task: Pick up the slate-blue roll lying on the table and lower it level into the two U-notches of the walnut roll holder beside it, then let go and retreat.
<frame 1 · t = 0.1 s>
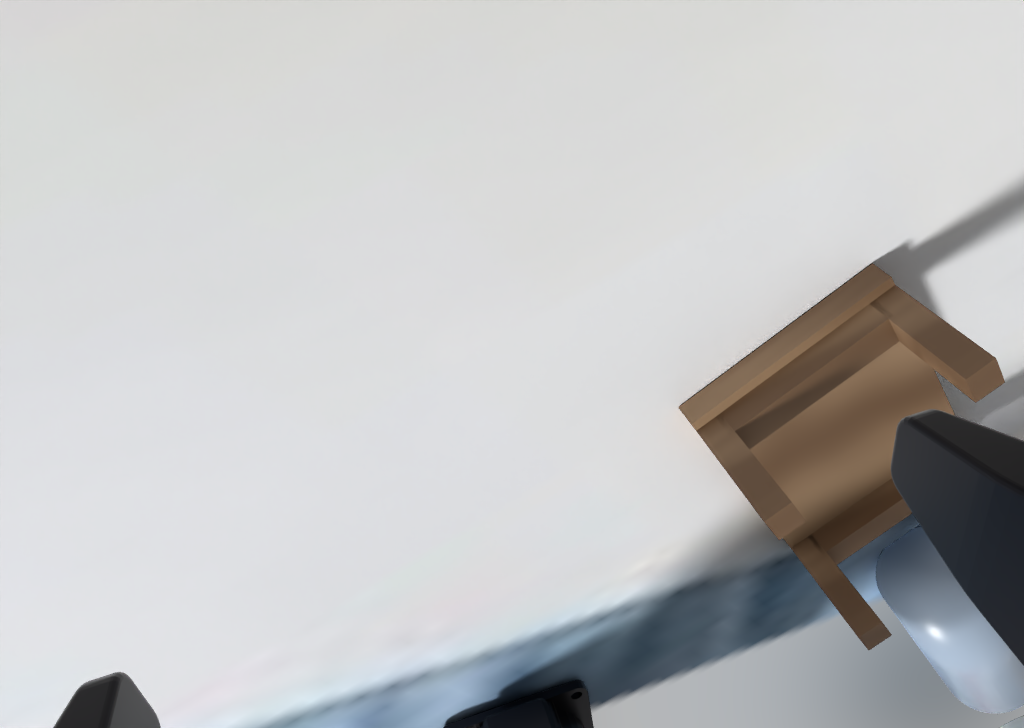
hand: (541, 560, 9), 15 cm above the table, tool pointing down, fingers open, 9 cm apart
roll: (930, 588, 41), on the table
roll holder: (827, 422, 32), on the table
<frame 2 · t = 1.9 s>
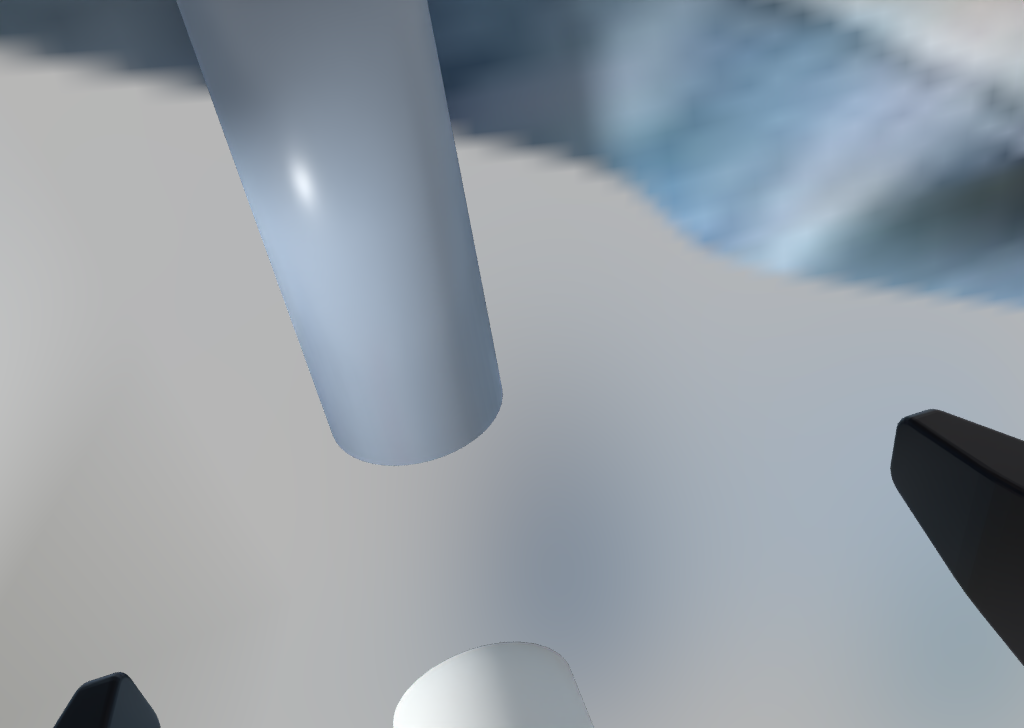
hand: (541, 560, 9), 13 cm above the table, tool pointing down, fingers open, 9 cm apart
roll: (377, 166, 20), on the table, tilted 17°
cylindrical container: (483, 700, 33), on the table
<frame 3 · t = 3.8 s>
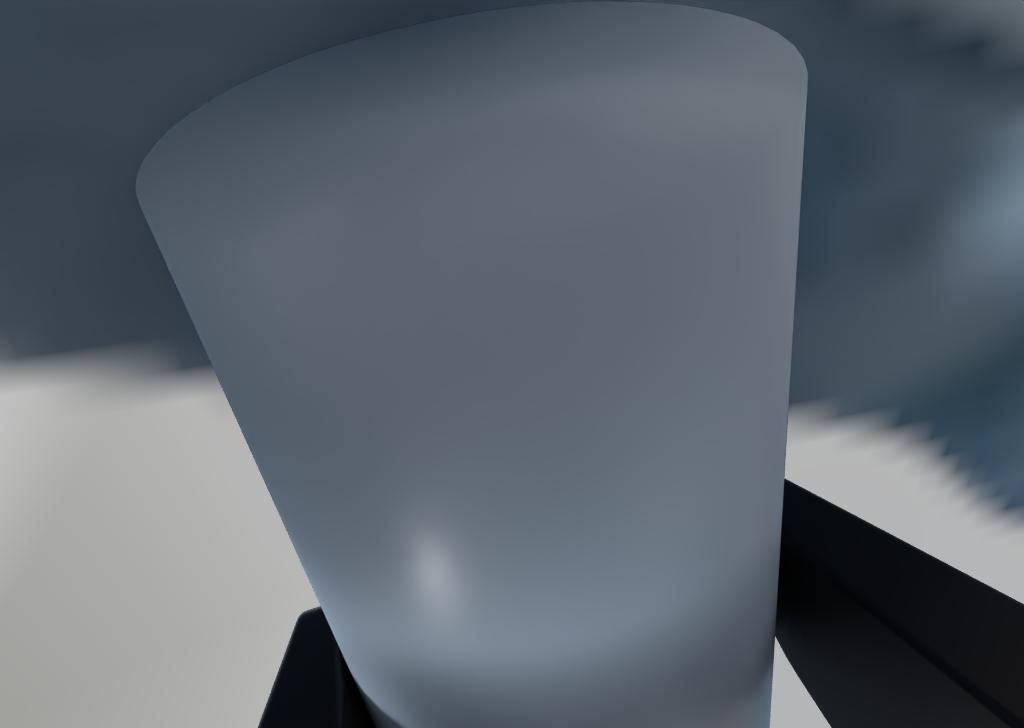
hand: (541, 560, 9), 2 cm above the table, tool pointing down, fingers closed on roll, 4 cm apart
roll: (503, 471, 11), on the table, touching gripper
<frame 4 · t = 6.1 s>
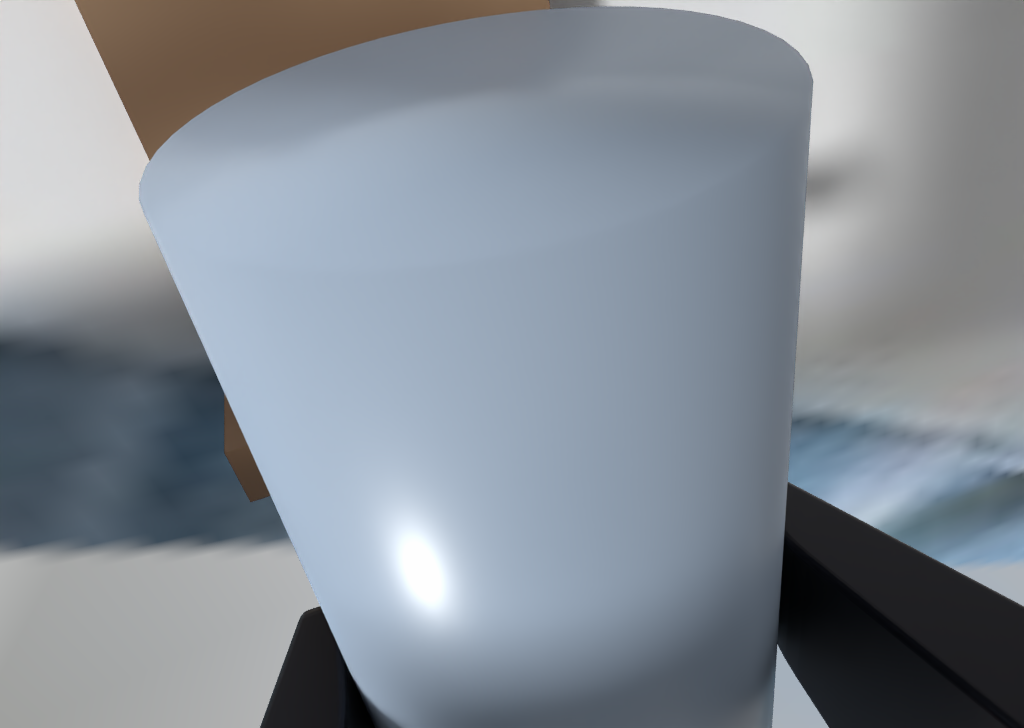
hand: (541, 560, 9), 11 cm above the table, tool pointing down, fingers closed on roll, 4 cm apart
roll: (505, 476, 11), point 9 cm above the table, touching gripper
roll holder: (349, 78, 17), on the table
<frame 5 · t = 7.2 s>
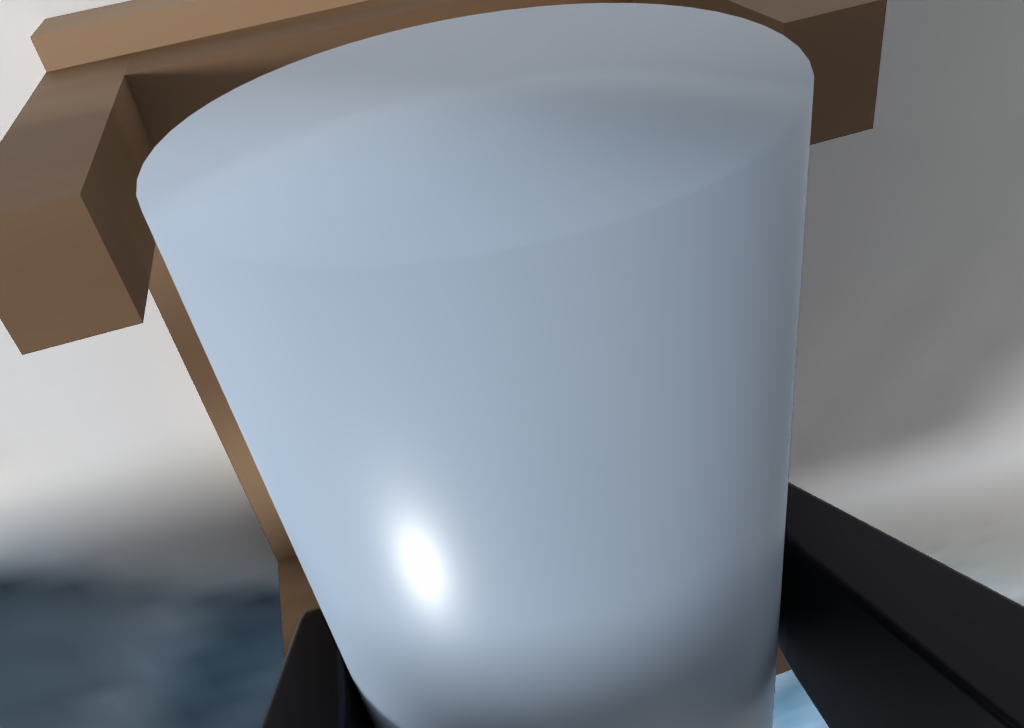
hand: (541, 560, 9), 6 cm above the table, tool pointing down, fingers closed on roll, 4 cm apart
roll: (504, 474, 11), point 5 cm above the table, touching gripper
roll holder: (438, 297, 14), on the table
when the fingers open (5 cm above the table, at t = 8.2 s): roll drops 1 cm, resting on roll holder.
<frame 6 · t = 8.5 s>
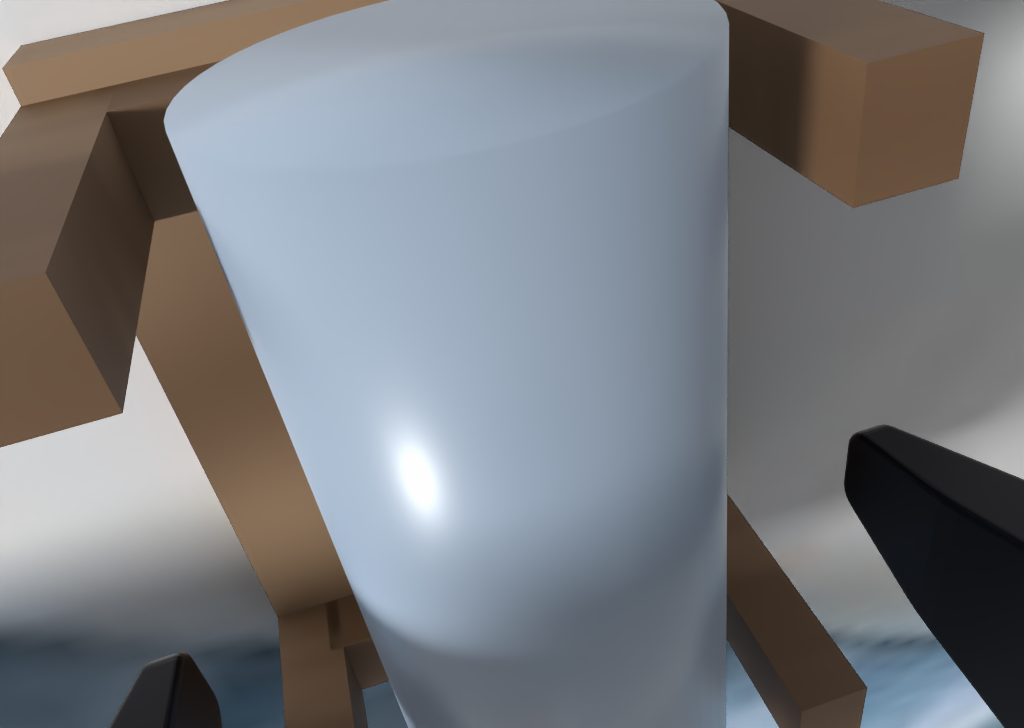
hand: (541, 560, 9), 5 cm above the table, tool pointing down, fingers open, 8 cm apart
roll: (480, 417, 12), point 2 cm above the table, touching roll holder
roll holder: (451, 338, 13), on the table
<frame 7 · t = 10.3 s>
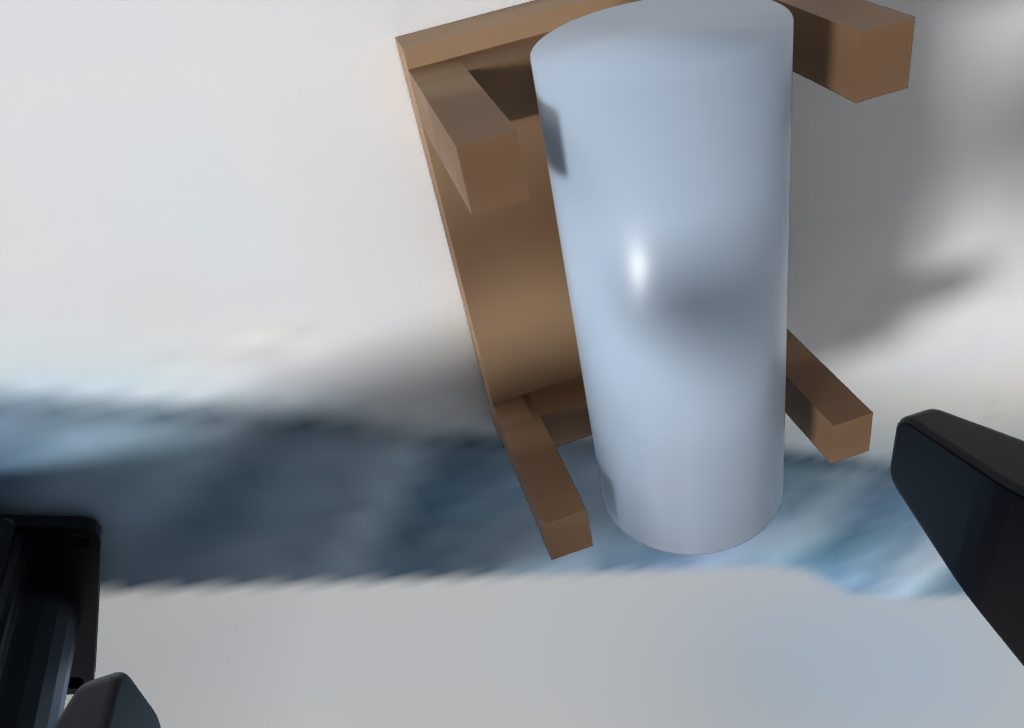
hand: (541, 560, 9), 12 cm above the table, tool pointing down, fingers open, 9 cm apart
roll: (635, 255, 19), point 2 cm above the table, touching roll holder
roll holder: (606, 216, 21), on the table
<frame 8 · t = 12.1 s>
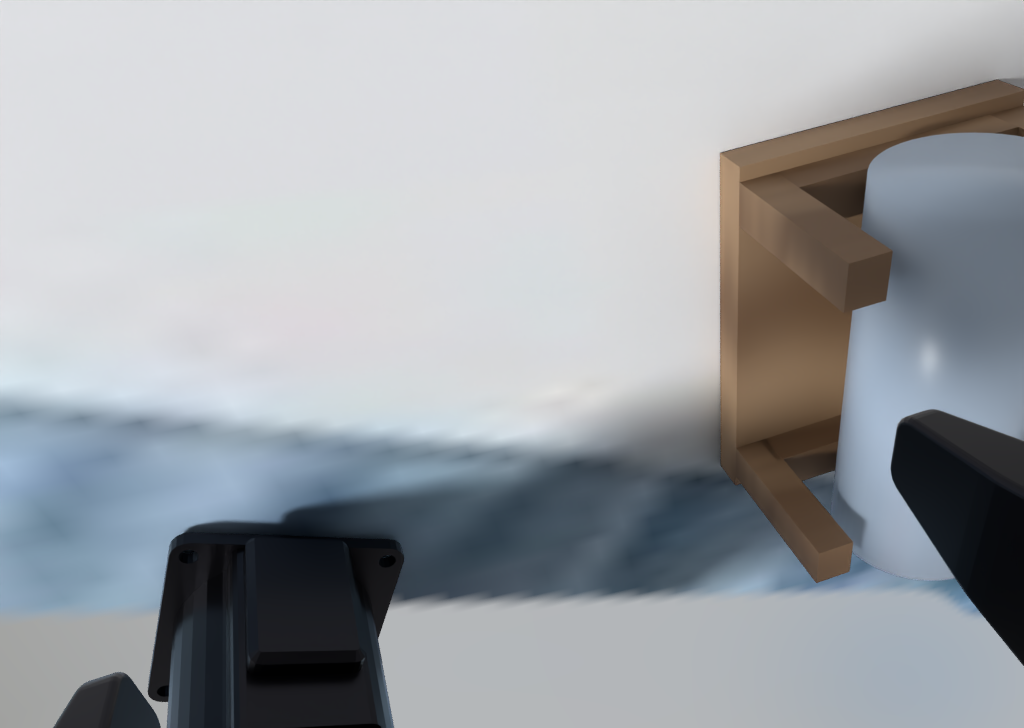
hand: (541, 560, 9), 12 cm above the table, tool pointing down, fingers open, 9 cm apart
roll: (885, 329, 23), point 2 cm above the table, touching roll holder
roll holder: (844, 292, 25), on the table
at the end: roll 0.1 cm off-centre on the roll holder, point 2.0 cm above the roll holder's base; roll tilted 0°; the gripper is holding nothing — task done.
